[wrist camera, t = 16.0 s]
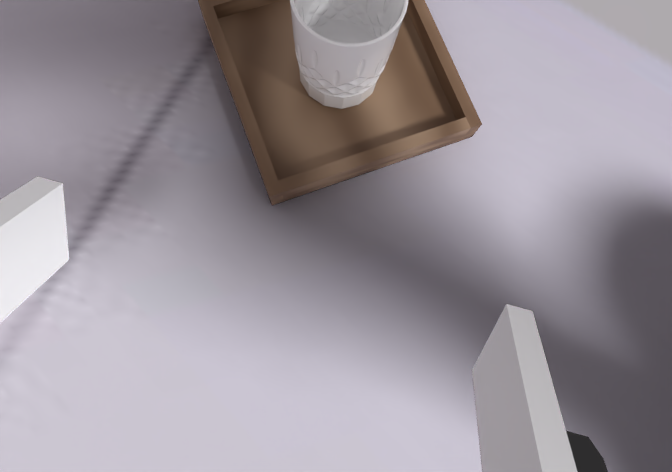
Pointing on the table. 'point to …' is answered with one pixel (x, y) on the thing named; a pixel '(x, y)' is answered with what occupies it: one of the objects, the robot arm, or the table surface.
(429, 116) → the walnut tray
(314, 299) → the table surface
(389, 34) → the white cup
